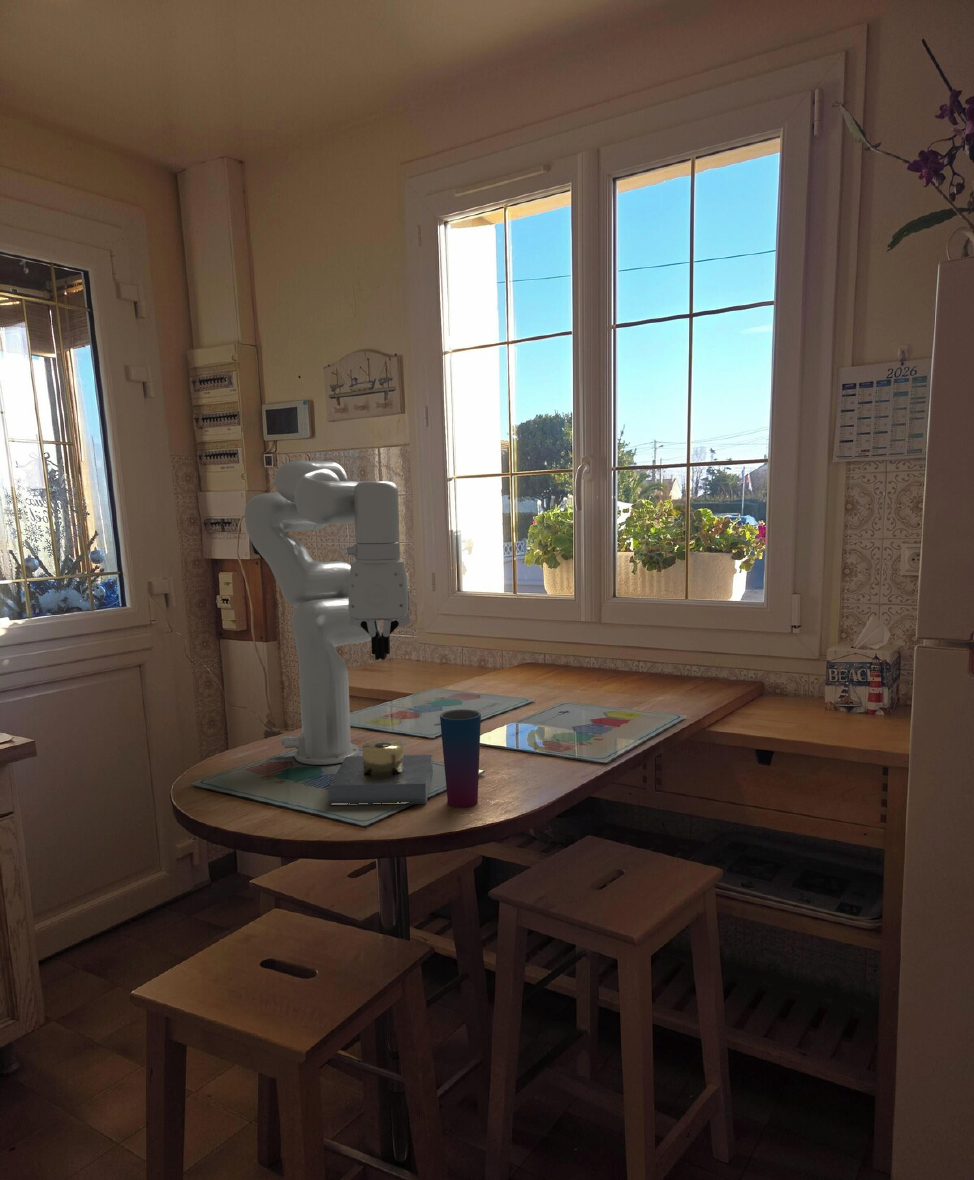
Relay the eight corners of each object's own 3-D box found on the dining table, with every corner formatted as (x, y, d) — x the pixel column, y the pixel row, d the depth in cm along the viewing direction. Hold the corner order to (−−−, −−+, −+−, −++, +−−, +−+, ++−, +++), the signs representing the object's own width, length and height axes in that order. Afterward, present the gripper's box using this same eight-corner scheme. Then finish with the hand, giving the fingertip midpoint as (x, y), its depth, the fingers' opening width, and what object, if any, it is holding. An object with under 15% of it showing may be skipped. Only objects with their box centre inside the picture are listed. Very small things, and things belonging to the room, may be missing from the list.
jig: (330, 805, 135) (329, 785, 134) (346, 774, 151) (346, 756, 150) (426, 803, 135) (425, 783, 134) (432, 773, 151) (432, 754, 150)
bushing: (361, 794, 139) (359, 751, 138) (367, 780, 146) (365, 739, 145) (402, 793, 139) (400, 750, 138) (406, 780, 146) (404, 738, 145)
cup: (491, 801, 135) (489, 713, 134) (463, 812, 130) (461, 721, 129) (462, 792, 140) (459, 707, 139) (433, 803, 135) (431, 715, 134)
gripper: (330, 555, 136) (334, 663, 138) (419, 554, 136) (421, 662, 138) (339, 552, 143) (342, 655, 145) (423, 551, 143) (425, 653, 145)
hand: (381, 658), depth 141 cm, fingers closed
